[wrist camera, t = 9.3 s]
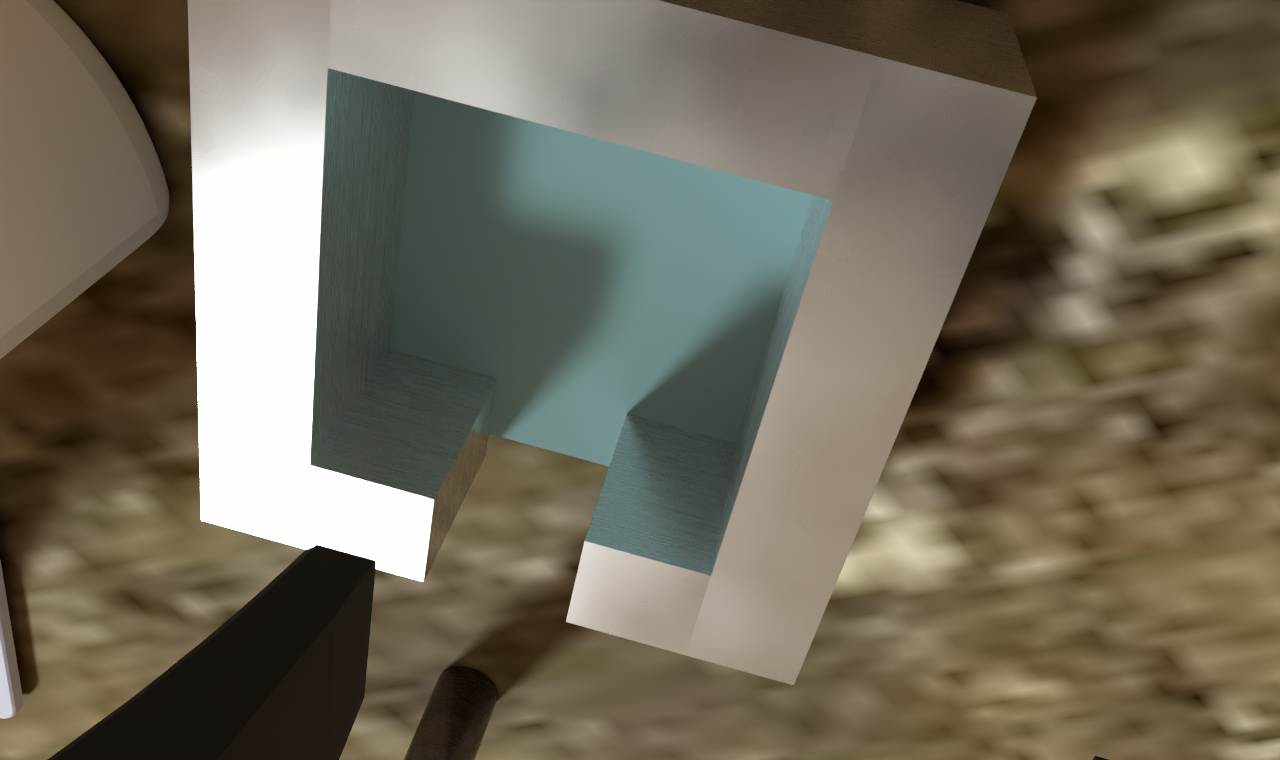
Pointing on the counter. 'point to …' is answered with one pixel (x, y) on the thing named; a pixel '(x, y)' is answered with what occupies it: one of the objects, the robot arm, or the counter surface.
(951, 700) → the counter surface
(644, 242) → the mat
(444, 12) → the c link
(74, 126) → the eye dropper bottle
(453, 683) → the pin
